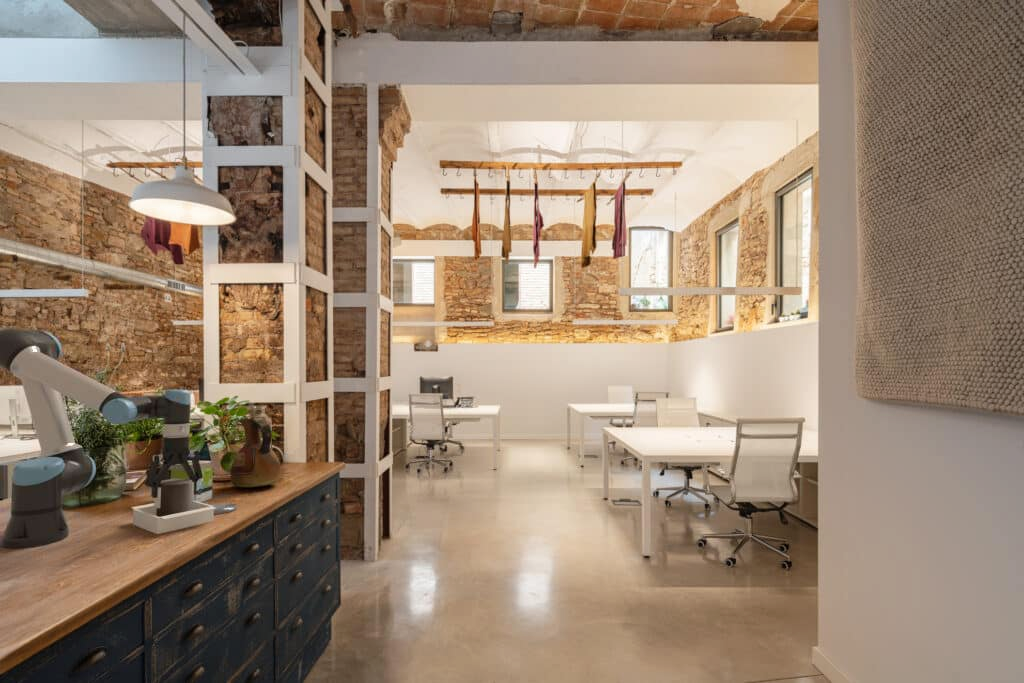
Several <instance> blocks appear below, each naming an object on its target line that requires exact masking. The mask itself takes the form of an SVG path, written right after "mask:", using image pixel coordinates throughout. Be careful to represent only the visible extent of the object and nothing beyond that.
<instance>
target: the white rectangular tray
mask: <svg viewBox="0 0 1024 683" xmlns="http://www.w3.org/2000/svg"><path fill="white" fill-rule="evenodd" d="M130 509H132V525H133V524H134V525H133V526H135V525H136V526H135V527H137V526H138V528H139V529H144V530H145V531H147V532H151V533H153V534H156V535H160V534H163V533H168V532H174V531H178V530H181V529H187V528H191V527H194V526H199V525H203V524H209V523H212V522H214V509H217V508H215V507H214V506H211V504H207V503H204V502H197V501H194V500H193V502H191V505H190V511H186V512H182V513H177V514H172V515H167V516H162V517H158V516H156V508H155V507H154V502H153V503H147V504H143V505H136V506H132V507H130Z"/></svg>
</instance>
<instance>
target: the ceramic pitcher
mask: <svg viewBox="0 0 1024 683" xmlns="http://www.w3.org/2000/svg"><path fill="white" fill-rule="evenodd" d="M238 422H239V423H240V424H241V425H242V427H243V429H244V430H243V431H244V434H245V435H244V437H245V442H244V445H243V446H242V447H241V448H240V449H239V450H238V451H237V453H236V454H235V456H234V458H233V460H232V463H231V468H230V474H229V475H230V482H231V485H232V486H233V487H238V488H257V487H265V486H268V485H271V486H272V485H275V484H277V482H278V481H279V480H280V479H281V475H282V467H281V463H280V462H281V461H280V460H279V457H278V456H277V454H276V452H275V451H274V450H273V449H272V448H271V444H272V436H273V434H272V429H271V426H270V423H269V421H267V420H266V418H265V416H261V417H259V416H258V417H257V416H256V417H253V418H252V417H251V418H242V419H239V420H238Z"/></svg>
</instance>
